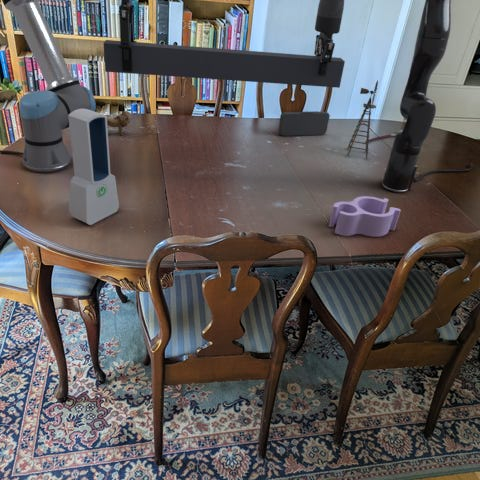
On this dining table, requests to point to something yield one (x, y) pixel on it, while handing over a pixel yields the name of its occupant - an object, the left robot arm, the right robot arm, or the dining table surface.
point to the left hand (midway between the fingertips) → (128, 68)
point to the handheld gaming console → (303, 123)
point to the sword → (382, 137)
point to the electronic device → (91, 168)
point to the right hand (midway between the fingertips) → (319, 72)
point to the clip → (364, 217)
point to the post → (224, 64)
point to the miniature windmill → (364, 91)
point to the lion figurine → (120, 121)
